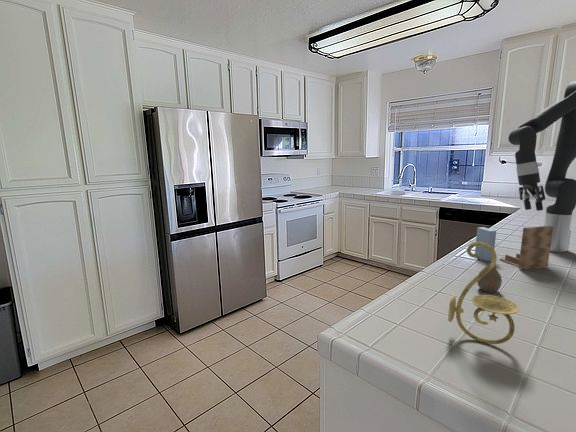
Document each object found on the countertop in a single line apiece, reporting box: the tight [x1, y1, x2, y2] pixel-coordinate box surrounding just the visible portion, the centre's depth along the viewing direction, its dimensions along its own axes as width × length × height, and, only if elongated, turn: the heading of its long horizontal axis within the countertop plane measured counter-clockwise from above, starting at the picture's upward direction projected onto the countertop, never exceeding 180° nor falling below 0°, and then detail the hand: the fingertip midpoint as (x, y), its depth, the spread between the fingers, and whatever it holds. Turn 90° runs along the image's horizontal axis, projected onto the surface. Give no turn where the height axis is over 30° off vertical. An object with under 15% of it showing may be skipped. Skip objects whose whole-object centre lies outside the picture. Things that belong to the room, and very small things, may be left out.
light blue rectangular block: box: [474, 226, 497, 262], centre depth 138 cm, size 3×7×13 cm, turn 11°
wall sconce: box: [447, 241, 520, 345], centre depth 76 cm, size 14×10×25 cm
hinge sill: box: [499, 225, 553, 270], centre depth 130 cm, size 12×12×17 cm
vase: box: [476, 264, 503, 294], centre depth 106 cm, size 7×7×9 cm
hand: (533, 209), depth 140 cm, fingers open, 8 cm apart
